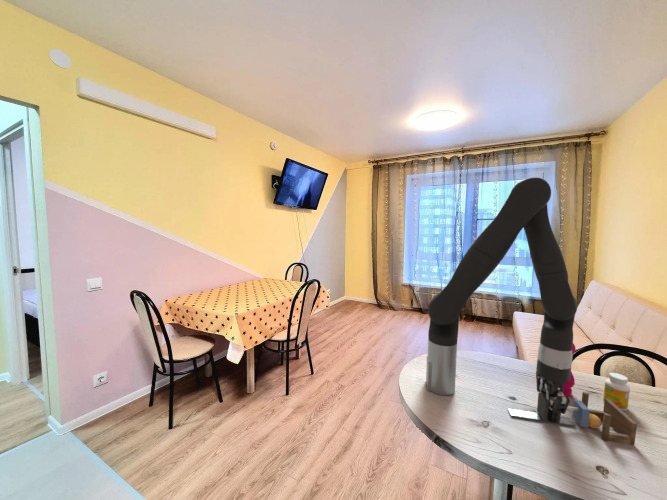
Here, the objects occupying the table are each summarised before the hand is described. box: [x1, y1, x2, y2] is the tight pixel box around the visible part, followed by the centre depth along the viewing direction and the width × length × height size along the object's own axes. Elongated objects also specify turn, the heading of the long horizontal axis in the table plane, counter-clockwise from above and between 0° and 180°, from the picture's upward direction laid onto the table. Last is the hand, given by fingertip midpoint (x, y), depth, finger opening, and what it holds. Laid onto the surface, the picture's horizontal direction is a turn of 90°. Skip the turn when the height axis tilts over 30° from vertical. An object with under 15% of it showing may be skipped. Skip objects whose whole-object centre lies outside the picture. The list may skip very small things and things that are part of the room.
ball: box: [588, 414, 602, 429], centre depth 76 cm, size 4×4×4 cm
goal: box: [581, 391, 638, 446], centre depth 75 cm, size 7×10×7 cm, turn 165°
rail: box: [507, 408, 577, 428], centre depth 80 cm, size 16×3×1 cm, turn 75°
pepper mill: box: [563, 343, 577, 397], centre depth 91 cm, size 7×7×20 cm
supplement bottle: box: [602, 372, 631, 411], centre depth 85 cm, size 5×5×10 cm
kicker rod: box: [536, 392, 590, 428], centre depth 78 cm, size 11×4×6 cm, turn 75°
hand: (548, 415), depth 79 cm, fingers closed on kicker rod, 4 cm apart
